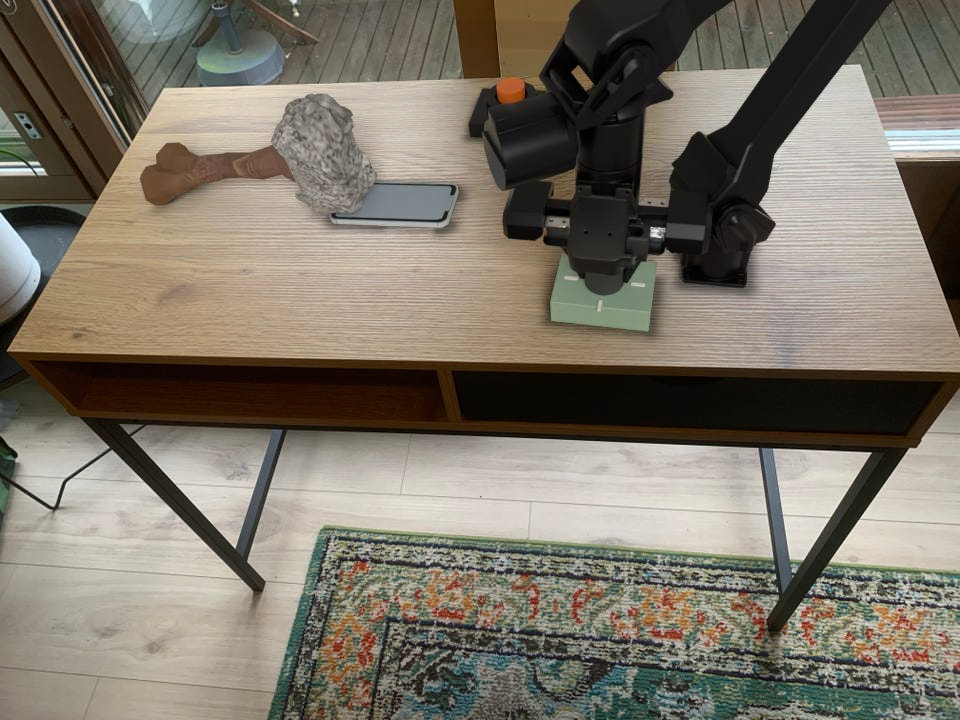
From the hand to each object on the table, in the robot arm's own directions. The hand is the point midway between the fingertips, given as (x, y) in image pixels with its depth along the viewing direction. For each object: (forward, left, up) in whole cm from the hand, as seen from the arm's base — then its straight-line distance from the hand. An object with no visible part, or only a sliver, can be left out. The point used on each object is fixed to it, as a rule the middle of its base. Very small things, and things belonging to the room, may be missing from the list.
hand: (604, 278), depth 75 cm
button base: (+16, -30, -4) cm, 34 cm away
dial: (0, 0, 0) cm, 0 cm away
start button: (+16, -30, 0) cm, 34 cm away
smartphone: (+27, -12, -4) cm, 30 cm away
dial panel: (0, 0, -4) cm, 4 cm away
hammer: (+44, -12, -4) cm, 46 cm away
